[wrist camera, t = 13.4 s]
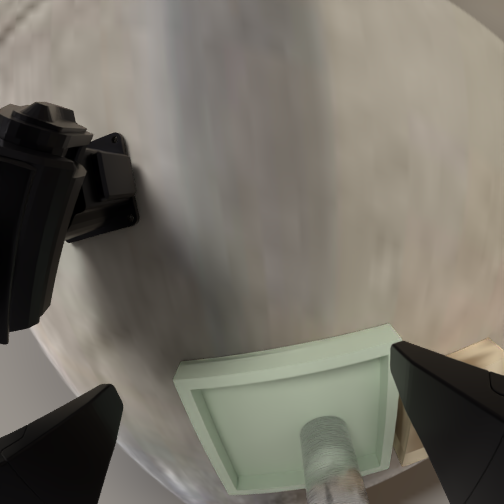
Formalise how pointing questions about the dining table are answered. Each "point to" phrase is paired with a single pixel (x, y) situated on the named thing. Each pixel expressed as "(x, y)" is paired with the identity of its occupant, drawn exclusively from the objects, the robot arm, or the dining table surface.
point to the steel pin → (330, 463)
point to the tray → (291, 406)
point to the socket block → (405, 434)
